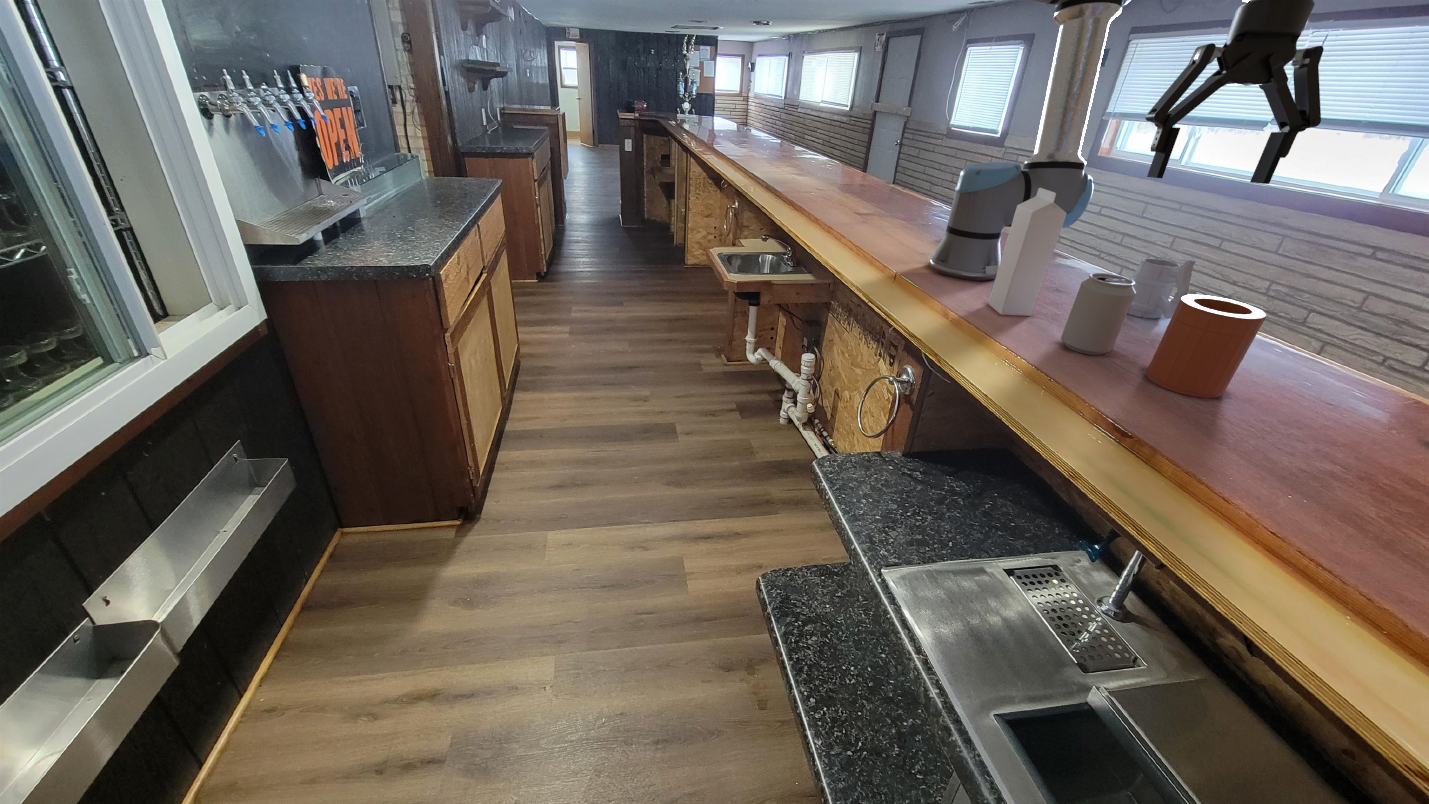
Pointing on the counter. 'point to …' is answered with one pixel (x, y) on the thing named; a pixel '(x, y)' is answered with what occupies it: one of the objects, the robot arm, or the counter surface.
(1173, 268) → the mug
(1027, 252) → the milk
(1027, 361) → the counter surface
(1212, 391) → the jar
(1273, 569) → the counter surface
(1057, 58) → the robot arm
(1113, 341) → the can
